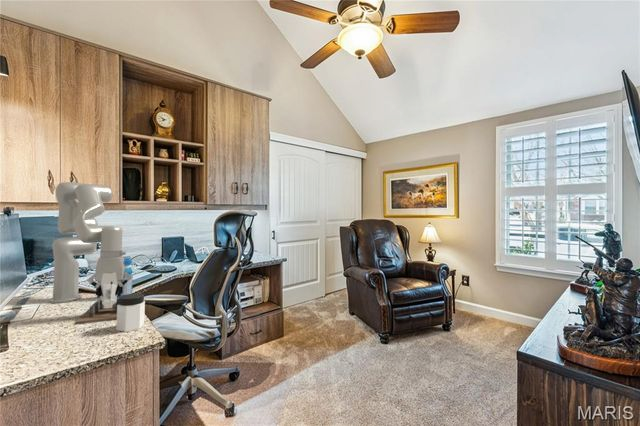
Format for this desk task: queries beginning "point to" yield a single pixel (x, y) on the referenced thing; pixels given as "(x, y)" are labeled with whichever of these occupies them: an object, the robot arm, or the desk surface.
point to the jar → (130, 312)
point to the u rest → (98, 314)
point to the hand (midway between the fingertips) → (109, 295)
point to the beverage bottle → (128, 286)
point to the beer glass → (109, 290)
